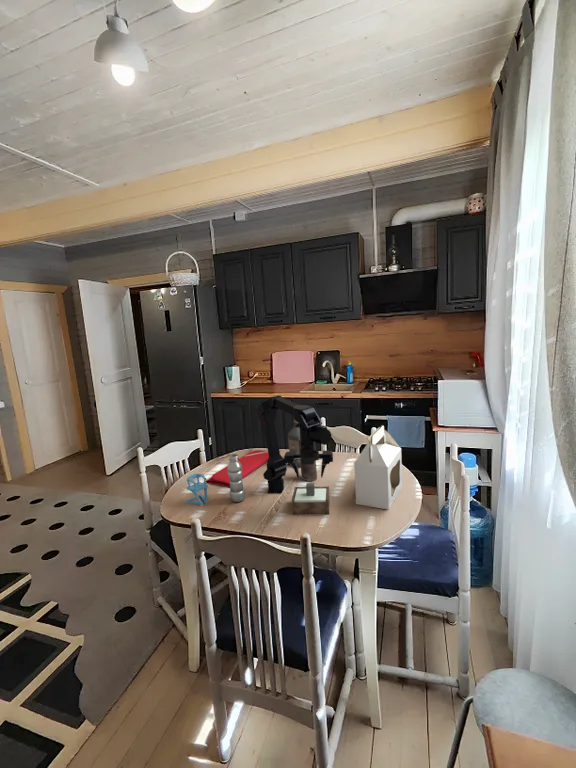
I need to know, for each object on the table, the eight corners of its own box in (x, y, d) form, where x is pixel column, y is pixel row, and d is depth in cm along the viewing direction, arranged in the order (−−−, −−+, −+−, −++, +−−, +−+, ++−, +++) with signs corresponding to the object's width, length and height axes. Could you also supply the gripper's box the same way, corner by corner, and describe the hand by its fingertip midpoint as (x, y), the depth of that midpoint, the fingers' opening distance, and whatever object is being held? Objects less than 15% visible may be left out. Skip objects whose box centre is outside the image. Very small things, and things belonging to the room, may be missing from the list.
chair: (197, 508, 158) (194, 481, 156) (185, 502, 163) (182, 476, 161) (212, 500, 163) (209, 474, 161) (200, 495, 169) (197, 470, 167)
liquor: (301, 468, 190) (297, 411, 185) (287, 465, 196) (283, 409, 191) (312, 462, 197) (308, 406, 192) (298, 459, 203) (294, 405, 198)
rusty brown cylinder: (298, 481, 177) (295, 439, 173) (304, 474, 183) (301, 435, 180) (314, 482, 174) (311, 440, 170) (319, 476, 180) (316, 435, 177)
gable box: (372, 481, 170) (370, 421, 165) (402, 486, 164) (400, 423, 159) (355, 504, 151) (352, 436, 146) (388, 510, 145) (386, 440, 140)
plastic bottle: (233, 505, 157) (228, 459, 154) (228, 499, 163) (223, 455, 160) (248, 501, 160) (243, 456, 157) (242, 495, 166) (238, 451, 163)
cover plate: (294, 502, 146) (293, 490, 145) (297, 490, 156) (296, 479, 155) (325, 502, 144) (325, 490, 143) (326, 490, 154) (325, 479, 153)
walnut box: (292, 514, 147) (291, 499, 146) (295, 500, 157) (294, 486, 156) (329, 514, 145) (328, 499, 144) (329, 500, 156) (328, 486, 155)
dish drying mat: (205, 483, 182) (204, 476, 182) (252, 454, 218) (252, 448, 217) (231, 488, 175) (230, 481, 174) (276, 457, 210) (275, 451, 209)
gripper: (280, 447, 139) (284, 486, 142) (331, 445, 137) (334, 486, 140) (284, 437, 150) (287, 474, 153) (331, 436, 148) (333, 473, 151)
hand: (310, 477), depth 149 cm, fingers open, 9 cm apart
